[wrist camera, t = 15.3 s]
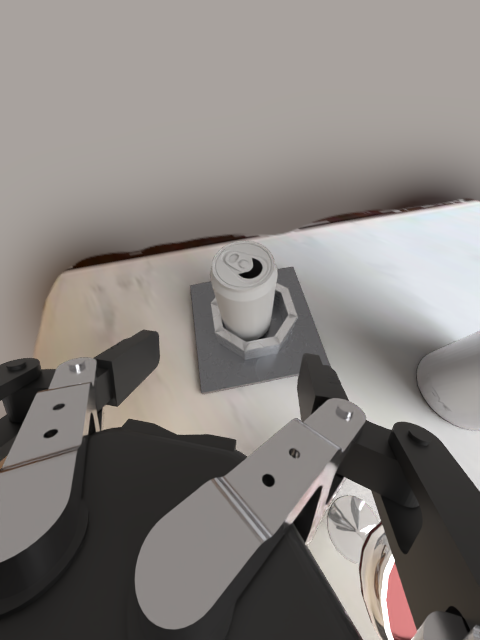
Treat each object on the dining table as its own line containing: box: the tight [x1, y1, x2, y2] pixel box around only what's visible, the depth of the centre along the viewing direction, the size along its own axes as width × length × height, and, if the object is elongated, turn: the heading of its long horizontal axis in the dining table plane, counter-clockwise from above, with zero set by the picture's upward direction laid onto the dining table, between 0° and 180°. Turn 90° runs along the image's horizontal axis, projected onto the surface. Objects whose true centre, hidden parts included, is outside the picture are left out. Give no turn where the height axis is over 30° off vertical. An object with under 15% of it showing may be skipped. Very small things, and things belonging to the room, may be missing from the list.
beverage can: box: [210, 241, 278, 342], centre depth 25 cm, size 6×6×12 cm
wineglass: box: [327, 496, 417, 640], centre depth 16 cm, size 7×7×12 cm
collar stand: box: [190, 267, 331, 394], centre depth 29 cm, size 16×16×4 cm
